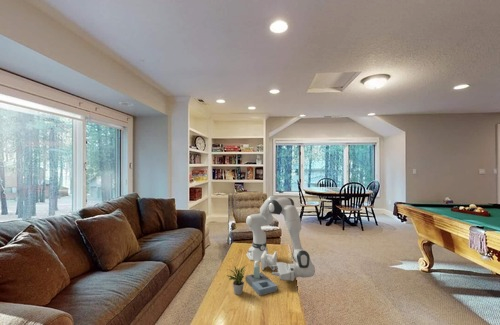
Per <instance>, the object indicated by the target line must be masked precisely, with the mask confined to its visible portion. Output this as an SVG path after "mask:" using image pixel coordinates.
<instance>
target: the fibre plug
mask: <svg viewBox="0 0 500 325" xmlns="http://www.w3.org/2000/svg"><path fill="white" fill-rule="evenodd" d="M260 273H261V264H260V261H254V264H253V274H254V279H259V278H260Z"/></svg>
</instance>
